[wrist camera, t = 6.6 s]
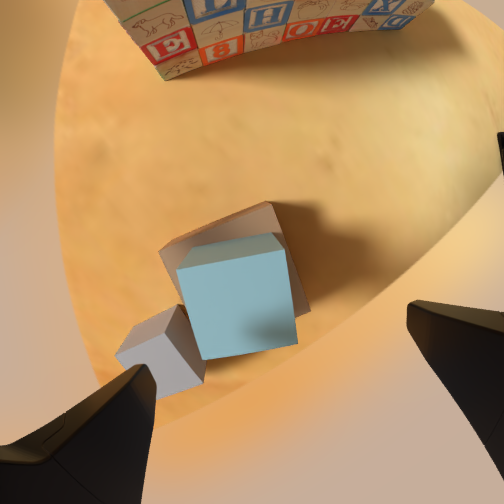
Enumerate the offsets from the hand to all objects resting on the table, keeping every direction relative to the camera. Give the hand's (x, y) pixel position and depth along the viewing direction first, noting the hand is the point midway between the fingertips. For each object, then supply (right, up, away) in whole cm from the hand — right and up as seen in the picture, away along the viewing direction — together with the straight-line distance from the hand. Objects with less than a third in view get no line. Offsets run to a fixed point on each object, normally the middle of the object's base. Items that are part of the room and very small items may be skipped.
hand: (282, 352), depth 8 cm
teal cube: (-2, +2, +8) cm, 8 cm away
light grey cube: (-8, -4, +13) cm, 15 cm away
